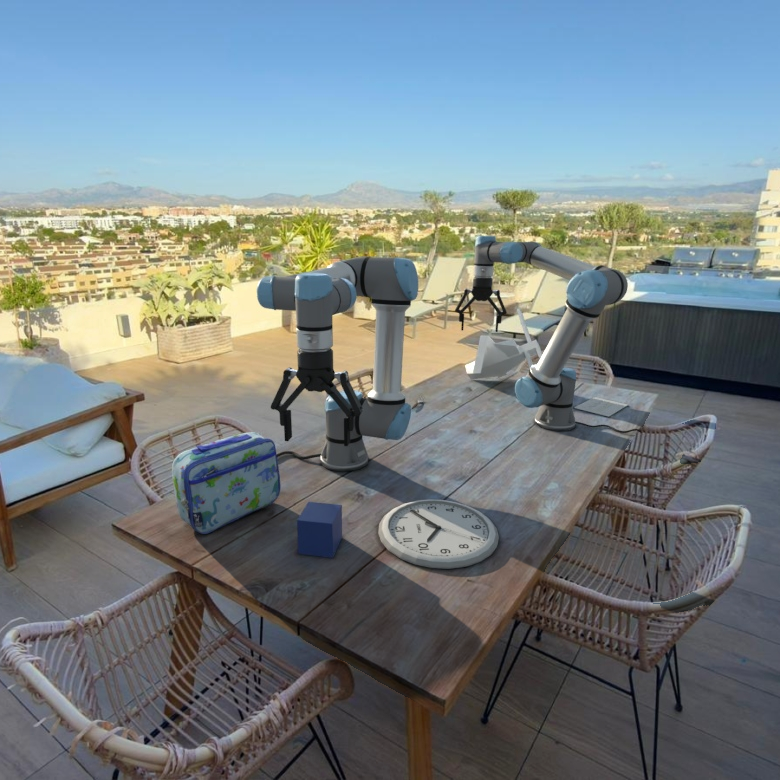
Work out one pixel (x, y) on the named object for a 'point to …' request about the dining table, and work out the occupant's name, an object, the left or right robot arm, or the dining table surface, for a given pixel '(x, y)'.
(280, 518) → the dining table surface
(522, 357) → the white plastic object
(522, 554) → the dining table surface
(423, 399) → the fork
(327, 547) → the block
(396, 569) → the dining table surface
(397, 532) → the wall clock
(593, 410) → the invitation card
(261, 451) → the lunch box
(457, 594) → the dining table surface
